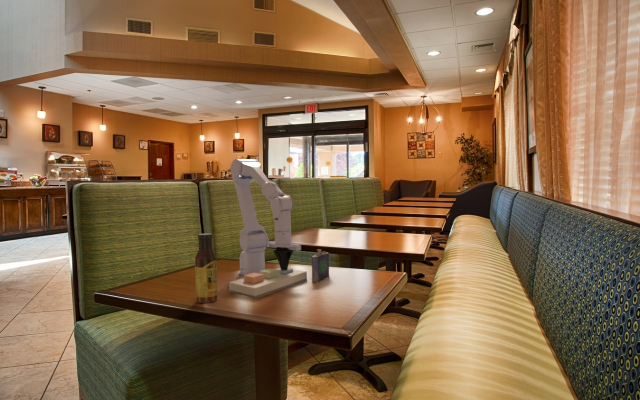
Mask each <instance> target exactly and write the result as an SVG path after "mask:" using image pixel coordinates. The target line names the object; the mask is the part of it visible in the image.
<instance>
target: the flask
mask: <svg viewBox="0 0 640 400" xmlns="http://www.w3.org/2000/svg"><path fill="white" fill-rule="evenodd" d="M316 251H317V254H314V255H312V256H311V282H312V283H319V282H322V281H324V280H326V279H329V278H330V252H327V251H322V249H319V248H318V249H316Z"/></svg>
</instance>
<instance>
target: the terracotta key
mask: <svg viewBox="0 0 640 400" xmlns="http://www.w3.org/2000/svg"><path fill="white" fill-rule="evenodd" d="M243 278H244V283H248V284H253V285H254V284H257V283H260V282H263V281H264V274H259V273H251V274H247V275H243Z"/></svg>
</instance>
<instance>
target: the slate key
mask: <svg viewBox="0 0 640 400" xmlns="http://www.w3.org/2000/svg"><path fill="white" fill-rule="evenodd" d="M279 268H280V267H279ZM275 269H276V270H279V274H282V275H286V274H289V273H292V272H293V269H294V268H289V267H288V269H286V270H281V268H280V269H278V268H275Z"/></svg>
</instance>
